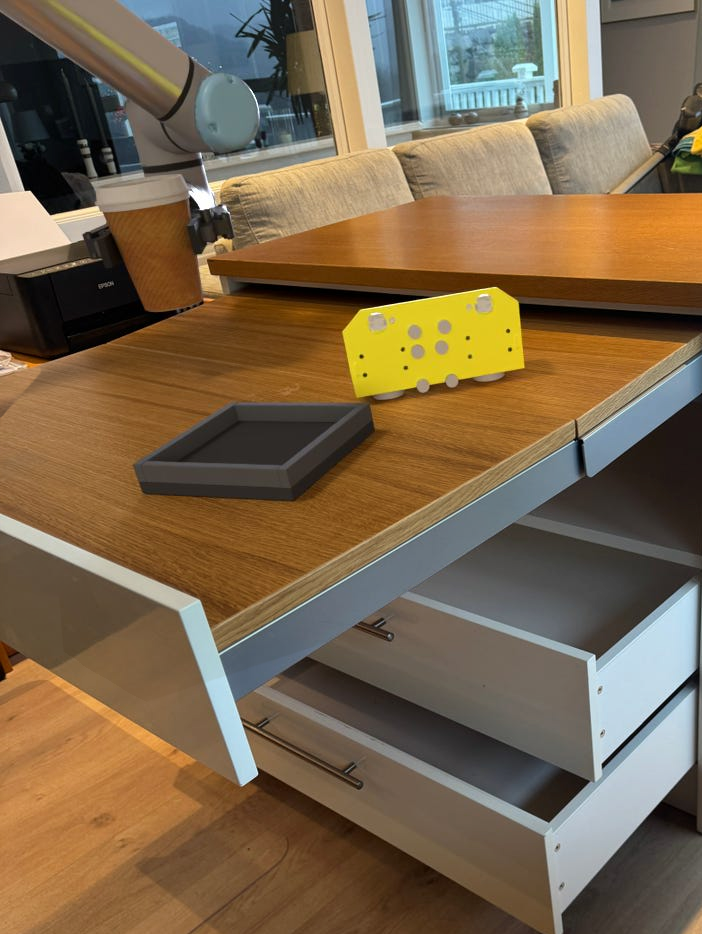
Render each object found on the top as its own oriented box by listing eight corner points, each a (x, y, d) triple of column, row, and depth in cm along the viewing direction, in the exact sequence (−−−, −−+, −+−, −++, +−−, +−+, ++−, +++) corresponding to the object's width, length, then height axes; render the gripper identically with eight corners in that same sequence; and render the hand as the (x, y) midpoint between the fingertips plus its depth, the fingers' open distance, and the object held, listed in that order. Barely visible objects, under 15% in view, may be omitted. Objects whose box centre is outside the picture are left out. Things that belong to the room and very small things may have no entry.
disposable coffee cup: (221, 289, 101) (191, 170, 95) (215, 306, 93) (181, 178, 87) (136, 302, 100) (99, 183, 94) (122, 321, 92) (81, 193, 86)
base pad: (142, 493, 71) (131, 464, 70) (238, 428, 82) (231, 402, 80) (293, 501, 66) (285, 469, 65) (375, 430, 77) (369, 402, 76)
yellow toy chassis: (358, 408, 83) (339, 315, 78) (353, 390, 87) (336, 301, 83) (526, 377, 84) (517, 284, 79) (513, 362, 89) (504, 273, 84)
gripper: (269, 238, 111) (263, 270, 92) (98, 264, 109) (56, 302, 90) (254, 170, 107) (245, 189, 88) (76, 196, 105) (27, 221, 86)
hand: (149, 246), depth 89 cm, fingers closed on disposable coffee cup, 8 cm apart
